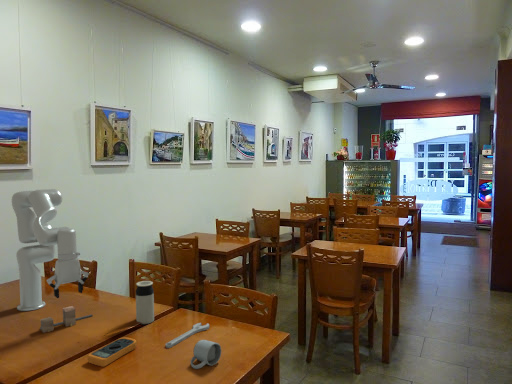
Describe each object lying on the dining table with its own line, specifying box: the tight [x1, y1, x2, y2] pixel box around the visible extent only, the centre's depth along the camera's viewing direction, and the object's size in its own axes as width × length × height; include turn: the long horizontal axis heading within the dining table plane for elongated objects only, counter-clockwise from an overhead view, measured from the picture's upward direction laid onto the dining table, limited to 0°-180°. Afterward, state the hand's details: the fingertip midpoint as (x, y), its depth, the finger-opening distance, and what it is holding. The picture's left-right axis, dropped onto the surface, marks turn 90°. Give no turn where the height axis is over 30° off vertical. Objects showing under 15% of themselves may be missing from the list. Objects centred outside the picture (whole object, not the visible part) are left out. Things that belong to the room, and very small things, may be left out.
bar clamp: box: [39, 314, 93, 334], centre depth 172 cm, size 6×22×5 cm, turn 133°
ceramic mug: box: [189, 339, 222, 370], centre depth 139 cm, size 11×8×8 cm
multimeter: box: [87, 336, 137, 368], centre depth 146 cm, size 9×18×3 cm, turn 154°
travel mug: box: [135, 280, 155, 325], centre depth 178 cm, size 8×8×18 cm
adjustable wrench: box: [165, 322, 210, 349], centre depth 163 cm, size 25×6×2 cm, turn 145°
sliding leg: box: [62, 305, 77, 328], centre depth 172 cm, size 5×4×7 cm
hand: (69, 294), depth 171 cm, fingers open, 9 cm apart
